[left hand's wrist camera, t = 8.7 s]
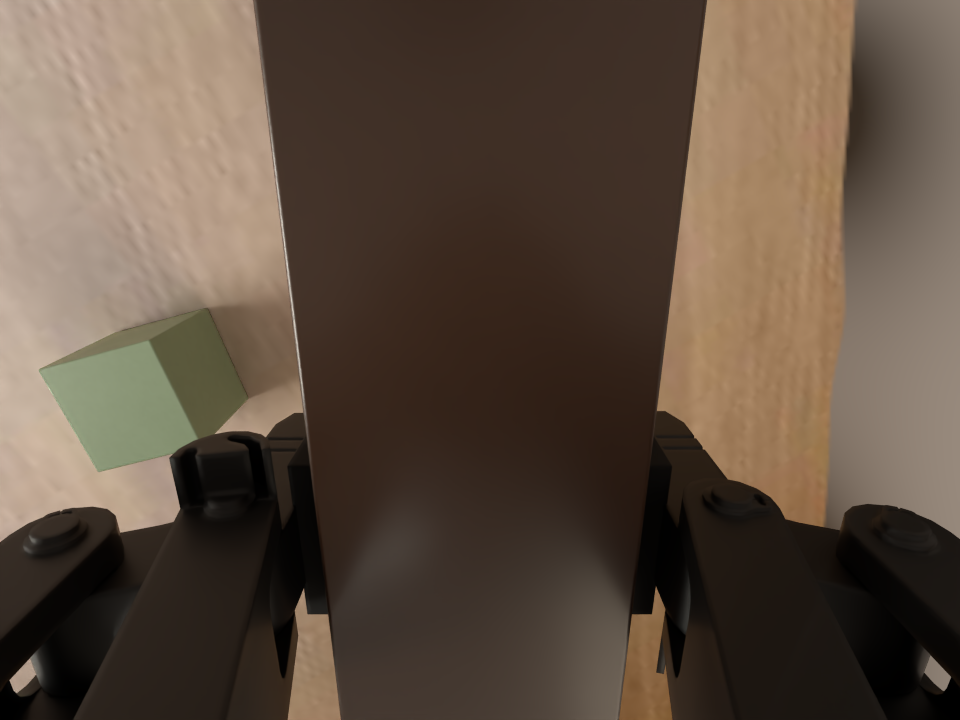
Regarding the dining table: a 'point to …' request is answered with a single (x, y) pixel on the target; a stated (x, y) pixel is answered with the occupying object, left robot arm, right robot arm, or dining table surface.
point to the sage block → (147, 389)
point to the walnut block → (480, 331)
